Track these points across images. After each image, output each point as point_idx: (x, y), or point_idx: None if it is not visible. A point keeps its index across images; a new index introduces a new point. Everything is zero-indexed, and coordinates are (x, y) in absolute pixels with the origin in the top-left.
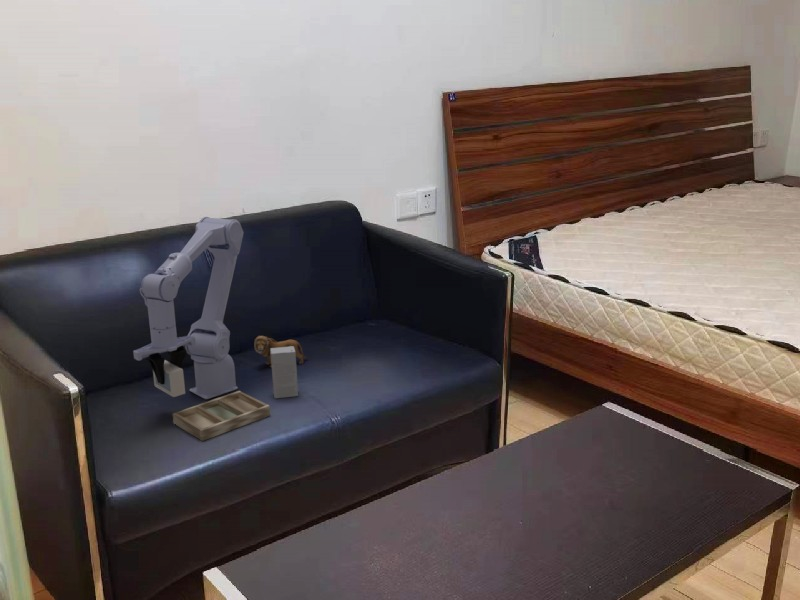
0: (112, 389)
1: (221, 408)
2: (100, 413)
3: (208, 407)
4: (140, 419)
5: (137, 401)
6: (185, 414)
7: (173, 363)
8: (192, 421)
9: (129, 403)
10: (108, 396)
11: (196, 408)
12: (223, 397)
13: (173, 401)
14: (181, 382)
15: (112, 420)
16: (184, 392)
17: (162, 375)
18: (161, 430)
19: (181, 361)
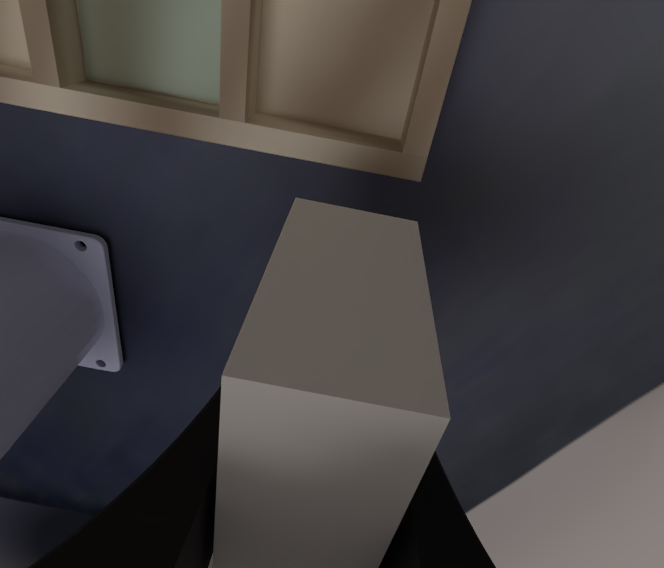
0: None
1: (93, 2)
2: (495, 478)
3: (161, 95)
4: (464, 333)
5: None
6: (341, 133)
7: (200, 556)
8: (369, 15)
9: None
10: None
11: (249, 120)
12: (9, 80)
13: None
14: (306, 265)
15: (530, 412)
16: (301, 203)
17: (425, 474)
18: (527, 143)
19: (116, 532)
